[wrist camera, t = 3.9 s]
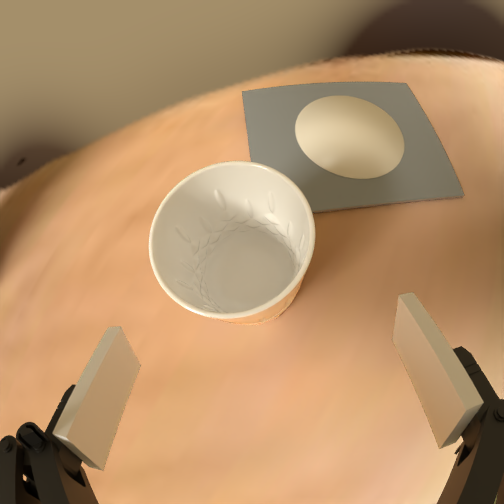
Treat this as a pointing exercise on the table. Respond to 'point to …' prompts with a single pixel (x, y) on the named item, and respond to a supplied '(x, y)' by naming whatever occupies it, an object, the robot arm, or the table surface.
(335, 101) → the card
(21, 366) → the table surface
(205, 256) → the white cup
